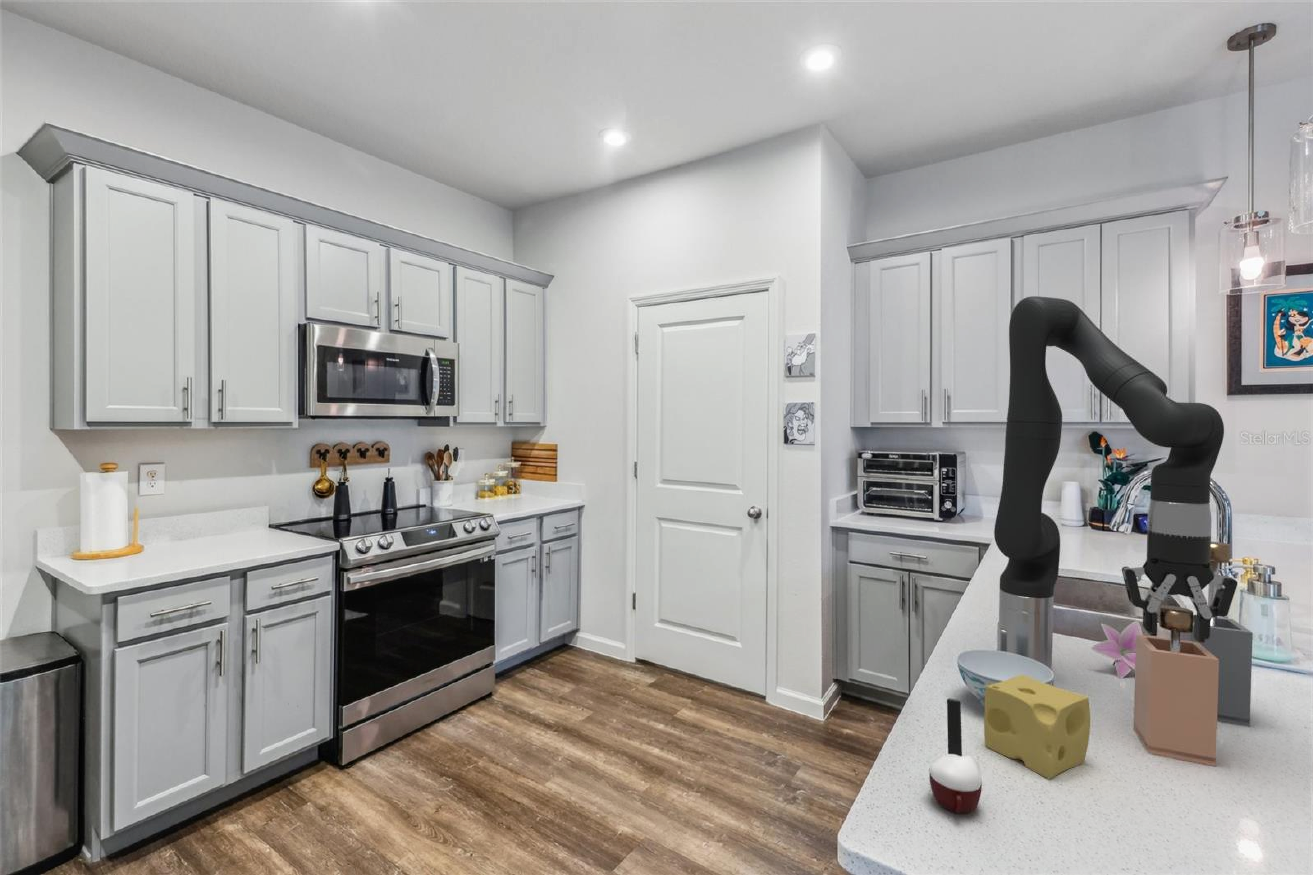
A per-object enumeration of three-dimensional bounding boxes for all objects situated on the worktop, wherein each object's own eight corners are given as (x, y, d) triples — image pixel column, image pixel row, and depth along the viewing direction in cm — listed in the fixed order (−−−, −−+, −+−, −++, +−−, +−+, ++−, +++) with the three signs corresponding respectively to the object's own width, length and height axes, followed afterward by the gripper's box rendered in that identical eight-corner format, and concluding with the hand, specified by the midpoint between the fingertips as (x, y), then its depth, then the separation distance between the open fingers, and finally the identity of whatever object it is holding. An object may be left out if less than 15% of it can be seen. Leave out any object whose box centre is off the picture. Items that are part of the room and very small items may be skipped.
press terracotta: (1148, 753, 93) (1150, 650, 92) (1133, 729, 100) (1136, 634, 99) (1215, 766, 89) (1218, 660, 89) (1195, 740, 96) (1198, 642, 96)
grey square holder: (1188, 716, 104) (1191, 625, 104) (1172, 697, 112) (1175, 612, 111) (1249, 726, 101) (1252, 632, 101) (1229, 706, 108) (1232, 618, 108)
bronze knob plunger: (1157, 715, 93) (1160, 611, 93) (1147, 701, 98) (1150, 602, 97) (1200, 723, 91) (1204, 616, 90) (1188, 708, 96) (1191, 607, 95)
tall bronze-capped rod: (1198, 637, 105) (1201, 544, 104) (1187, 628, 109) (1190, 539, 109) (1237, 642, 102) (1240, 547, 102) (1224, 632, 107) (1227, 542, 107)
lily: (1079, 673, 125) (1097, 642, 120) (1085, 637, 133) (1102, 607, 128) (1148, 705, 119) (1171, 674, 114) (1150, 666, 127) (1172, 635, 122)
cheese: (1050, 781, 85) (1051, 712, 85) (979, 745, 95) (980, 682, 94) (1090, 762, 90) (1092, 697, 90) (1019, 730, 100) (1020, 670, 99)
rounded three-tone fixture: (969, 833, 75) (973, 741, 74) (917, 808, 79) (921, 721, 78) (991, 796, 82) (995, 711, 81) (943, 775, 86) (946, 695, 85)
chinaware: (937, 697, 111) (938, 656, 111) (993, 684, 117) (994, 644, 117) (1013, 736, 97) (1014, 689, 97) (1072, 719, 103) (1074, 674, 103)
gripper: (1128, 530, 93) (1125, 638, 94) (1250, 538, 87) (1247, 653, 88) (1115, 523, 100) (1113, 623, 100) (1228, 530, 94) (1225, 637, 94)
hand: (1175, 637), depth 94 cm, fingers open, 5 cm apart
